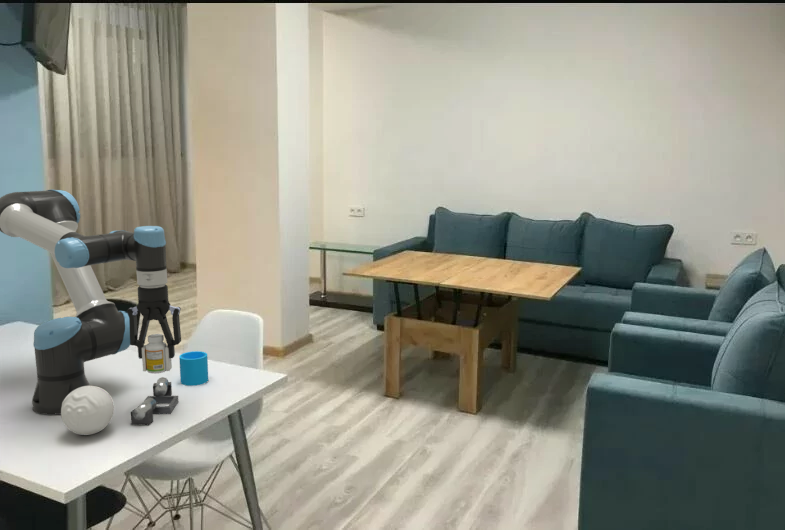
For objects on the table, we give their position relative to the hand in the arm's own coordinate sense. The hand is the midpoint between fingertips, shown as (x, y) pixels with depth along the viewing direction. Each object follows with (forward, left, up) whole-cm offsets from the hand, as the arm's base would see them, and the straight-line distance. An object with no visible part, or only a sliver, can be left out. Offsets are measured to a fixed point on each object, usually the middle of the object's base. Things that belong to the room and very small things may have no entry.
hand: (157, 369), depth 182 cm
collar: (0, 0, -11) cm, 11 cm away
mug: (+4, +23, -11) cm, 26 cm away
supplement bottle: (0, 0, -1) cm, 1 cm away
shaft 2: (-2, +8, -11) cm, 14 cm away
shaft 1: (-2, -8, -11) cm, 14 cm away
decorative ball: (-13, -15, -11) cm, 23 cm away
